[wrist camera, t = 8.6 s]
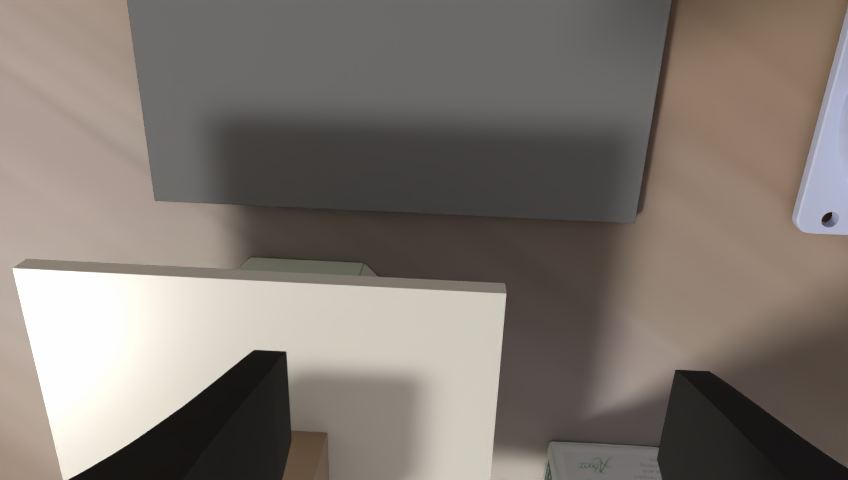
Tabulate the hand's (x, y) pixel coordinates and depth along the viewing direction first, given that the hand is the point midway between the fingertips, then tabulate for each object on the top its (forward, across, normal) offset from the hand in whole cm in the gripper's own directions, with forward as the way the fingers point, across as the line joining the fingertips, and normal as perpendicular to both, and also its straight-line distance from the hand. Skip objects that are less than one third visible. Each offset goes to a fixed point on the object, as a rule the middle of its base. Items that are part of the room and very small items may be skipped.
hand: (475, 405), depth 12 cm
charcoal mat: (+10, +2, -7) cm, 13 cm away
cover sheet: (+6, +6, +6) cm, 10 cm away
